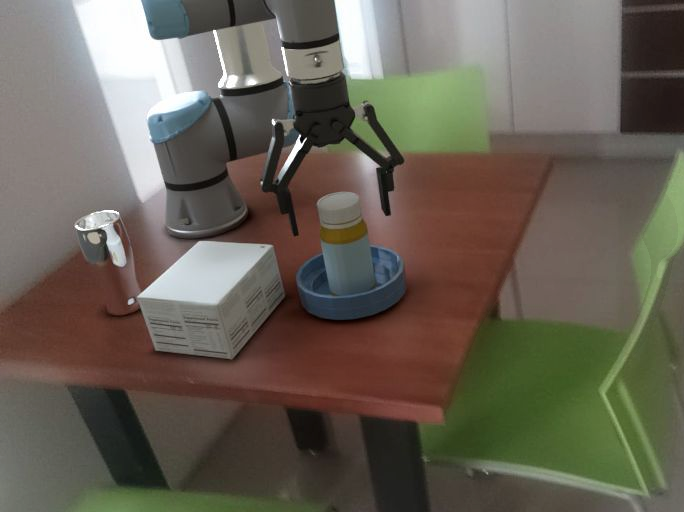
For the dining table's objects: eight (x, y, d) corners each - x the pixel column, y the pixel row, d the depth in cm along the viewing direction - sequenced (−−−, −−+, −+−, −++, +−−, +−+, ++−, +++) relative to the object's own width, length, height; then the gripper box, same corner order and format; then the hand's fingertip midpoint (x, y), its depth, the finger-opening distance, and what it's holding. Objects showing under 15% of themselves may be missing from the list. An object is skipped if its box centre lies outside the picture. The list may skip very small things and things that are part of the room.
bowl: (284, 293, 123) (279, 268, 121) (374, 259, 130) (371, 235, 127) (330, 337, 111) (324, 310, 109) (426, 297, 117) (423, 271, 115)
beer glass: (124, 321, 121) (92, 233, 113) (95, 311, 124) (62, 226, 116) (158, 299, 126) (130, 213, 118) (129, 290, 129) (100, 207, 121)
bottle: (369, 303, 116) (355, 210, 108) (325, 302, 118) (307, 211, 110) (381, 279, 122) (367, 190, 114) (338, 279, 123) (322, 190, 116)
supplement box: (213, 291, 126) (198, 239, 121) (286, 297, 122) (274, 243, 117) (152, 351, 113) (133, 295, 108) (233, 360, 109) (217, 302, 104)
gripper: (223, 100, 97) (258, 252, 108) (415, 65, 102) (430, 214, 113) (218, 85, 103) (252, 230, 115) (400, 52, 108) (415, 194, 119)
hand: (341, 222), depth 114 cm, fingers open, 13 cm apart
